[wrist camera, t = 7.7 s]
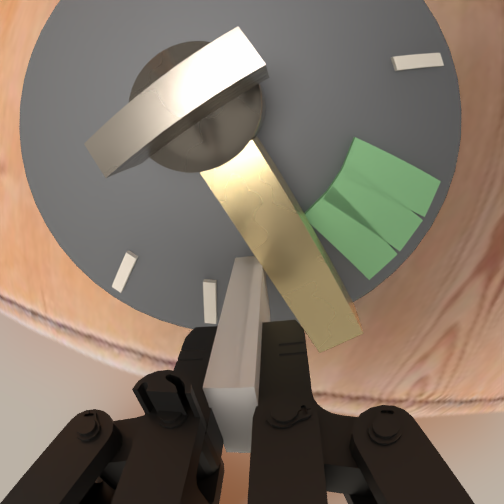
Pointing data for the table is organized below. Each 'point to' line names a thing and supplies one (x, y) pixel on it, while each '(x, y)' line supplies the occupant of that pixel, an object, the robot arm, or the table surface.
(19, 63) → the table surface
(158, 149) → the needle
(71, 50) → the dial
